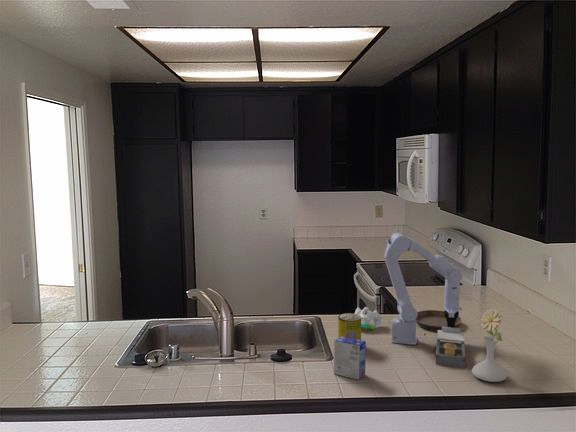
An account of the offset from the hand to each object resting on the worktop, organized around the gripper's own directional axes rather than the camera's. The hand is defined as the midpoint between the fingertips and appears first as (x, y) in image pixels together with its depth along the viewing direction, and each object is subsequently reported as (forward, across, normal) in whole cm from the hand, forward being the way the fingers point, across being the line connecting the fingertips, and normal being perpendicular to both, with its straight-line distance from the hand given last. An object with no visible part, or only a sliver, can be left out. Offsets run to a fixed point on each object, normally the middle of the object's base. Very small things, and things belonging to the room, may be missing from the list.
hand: (450, 329), depth 208 cm
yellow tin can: (+5, -17, +38) cm, 42 cm away
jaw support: (+5, +6, +36) cm, 36 cm away
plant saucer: (+5, +19, +6) cm, 20 cm away
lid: (+1, -6, 0) cm, 6 cm away
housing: (+5, -16, 0) cm, 17 cm away
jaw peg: (+5, -21, 0) cm, 22 cm away
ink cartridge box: (+5, -42, +33) cm, 54 cm away
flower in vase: (+5, -32, -13) cm, 35 cm away
